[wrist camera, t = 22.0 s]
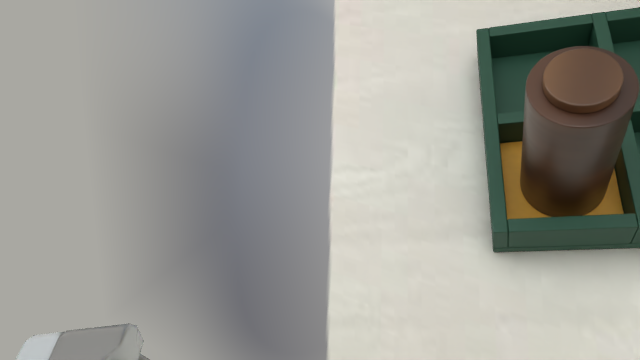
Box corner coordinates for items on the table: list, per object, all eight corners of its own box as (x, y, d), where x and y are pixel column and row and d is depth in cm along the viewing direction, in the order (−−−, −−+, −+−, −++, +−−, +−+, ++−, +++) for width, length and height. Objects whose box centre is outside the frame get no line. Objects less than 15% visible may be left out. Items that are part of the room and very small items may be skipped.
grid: (493, 252, 32) (492, 232, 30) (477, 57, 39) (476, 29, 37) (800, 243, 28) (828, 219, 25) (719, 27, 35) (735, -7, 33)
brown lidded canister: (524, 220, 31) (531, 124, 24) (516, 152, 34) (521, 43, 26) (613, 217, 30) (653, 113, 22) (599, 146, 32) (631, 29, 24)
